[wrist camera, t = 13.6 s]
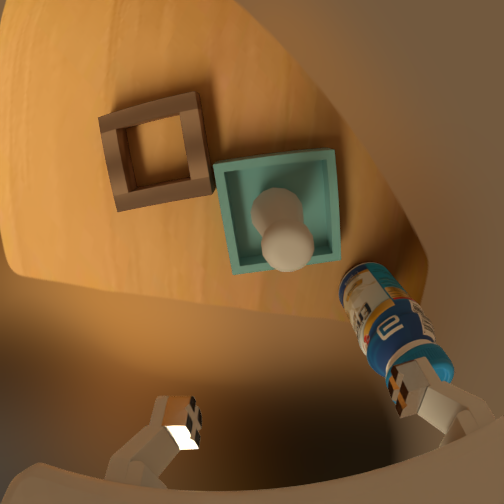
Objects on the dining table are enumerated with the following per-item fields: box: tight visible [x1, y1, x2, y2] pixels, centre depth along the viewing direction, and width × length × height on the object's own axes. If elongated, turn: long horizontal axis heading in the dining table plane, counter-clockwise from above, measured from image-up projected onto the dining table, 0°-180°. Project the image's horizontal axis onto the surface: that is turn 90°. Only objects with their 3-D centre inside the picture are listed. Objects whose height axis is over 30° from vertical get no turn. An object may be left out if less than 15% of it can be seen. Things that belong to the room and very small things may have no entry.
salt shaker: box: [250, 187, 314, 272], centre depth 29 cm, size 6×6×13 cm
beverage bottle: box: [339, 262, 454, 404], centre depth 32 cm, size 8×8×20 cm
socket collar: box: [98, 91, 215, 212], centre depth 32 cm, size 12×12×3 cm
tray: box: [213, 148, 341, 275], centre depth 35 cm, size 13×13×4 cm
